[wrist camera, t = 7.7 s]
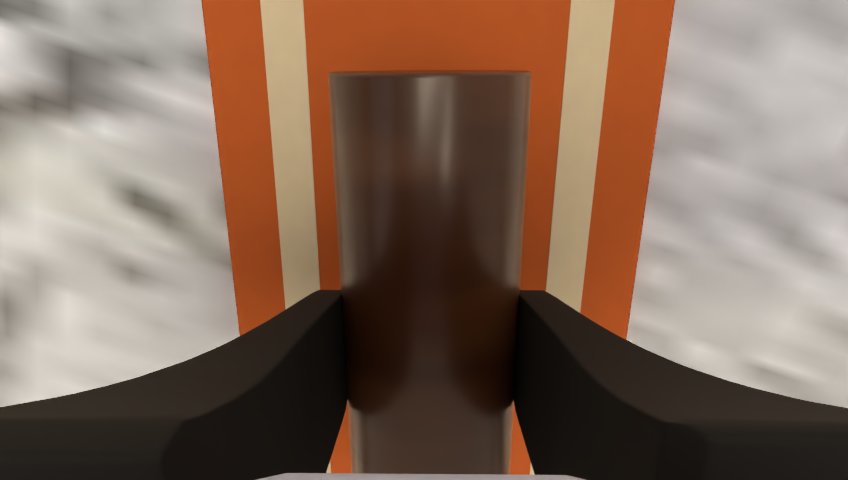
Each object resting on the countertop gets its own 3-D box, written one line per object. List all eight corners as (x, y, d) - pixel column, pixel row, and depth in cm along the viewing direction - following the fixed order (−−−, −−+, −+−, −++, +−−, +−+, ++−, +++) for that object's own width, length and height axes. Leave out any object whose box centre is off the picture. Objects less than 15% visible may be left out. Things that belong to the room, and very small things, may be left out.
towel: (190, -153, 12) (182, -161, 11) (689, -152, 12) (699, -160, 11) (267, 541, 18) (263, 552, 18) (591, 548, 18) (595, 559, 18)
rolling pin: (438, 69, 12) (291, 72, 10) (574, 70, 9) (415, 74, 7) (437, 468, 15) (328, 536, 13) (536, 550, 13) (420, 652, 11)
